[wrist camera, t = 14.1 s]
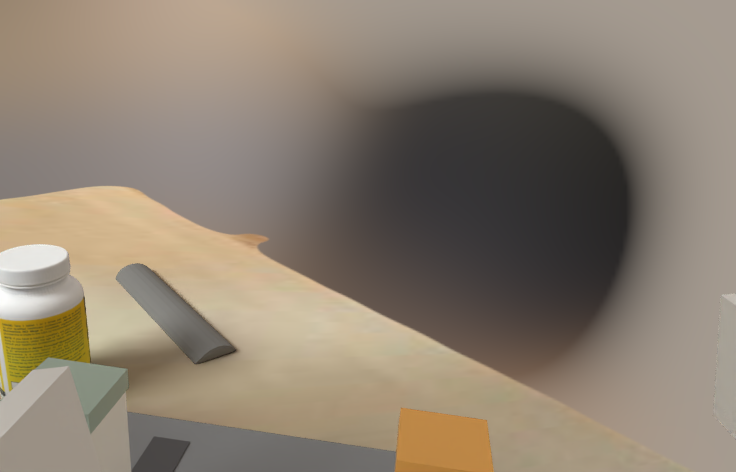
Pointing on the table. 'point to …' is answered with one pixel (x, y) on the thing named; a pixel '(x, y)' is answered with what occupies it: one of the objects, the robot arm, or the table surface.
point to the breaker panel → (240, 450)
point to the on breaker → (102, 409)
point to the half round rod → (173, 314)
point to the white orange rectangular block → (442, 443)
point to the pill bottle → (39, 312)
